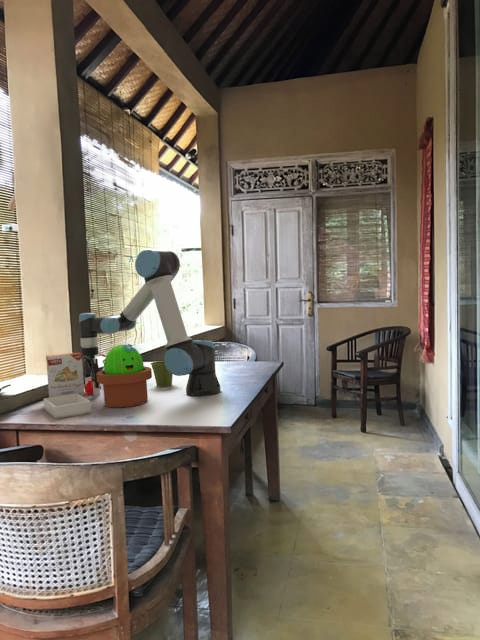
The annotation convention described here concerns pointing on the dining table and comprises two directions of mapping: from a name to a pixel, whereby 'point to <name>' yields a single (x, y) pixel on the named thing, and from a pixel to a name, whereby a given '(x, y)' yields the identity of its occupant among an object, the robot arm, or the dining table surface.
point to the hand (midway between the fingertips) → (93, 393)
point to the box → (67, 405)
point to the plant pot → (161, 374)
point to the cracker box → (65, 374)
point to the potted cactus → (124, 377)
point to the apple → (89, 388)
